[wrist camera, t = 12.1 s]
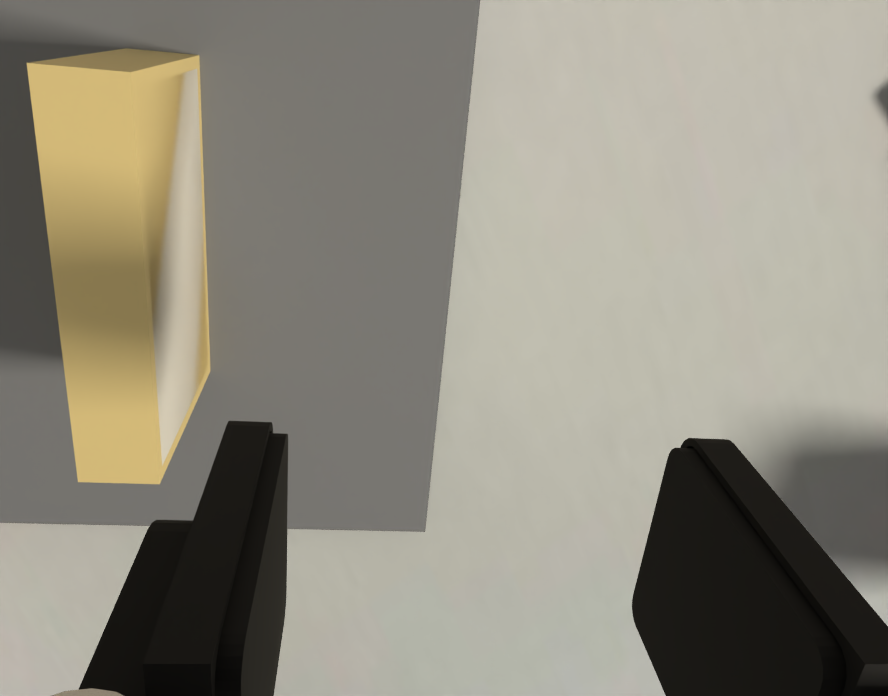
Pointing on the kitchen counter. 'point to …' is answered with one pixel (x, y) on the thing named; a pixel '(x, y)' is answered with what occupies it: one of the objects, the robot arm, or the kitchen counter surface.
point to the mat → (264, 249)
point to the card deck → (125, 251)
